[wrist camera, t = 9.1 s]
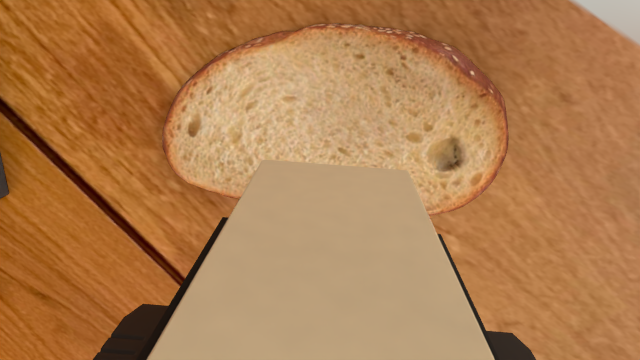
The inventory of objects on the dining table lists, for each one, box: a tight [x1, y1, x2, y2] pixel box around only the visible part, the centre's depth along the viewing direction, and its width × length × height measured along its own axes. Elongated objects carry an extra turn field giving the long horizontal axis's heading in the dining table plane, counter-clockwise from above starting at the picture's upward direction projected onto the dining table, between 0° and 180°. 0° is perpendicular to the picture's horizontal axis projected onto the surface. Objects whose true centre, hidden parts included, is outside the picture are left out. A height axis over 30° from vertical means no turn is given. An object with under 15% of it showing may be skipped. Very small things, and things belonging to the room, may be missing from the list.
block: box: [147, 160, 495, 360], centre depth 11 cm, size 5×5×10 cm
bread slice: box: [162, 23, 508, 215], centre depth 26 cm, size 18×18×4 cm
